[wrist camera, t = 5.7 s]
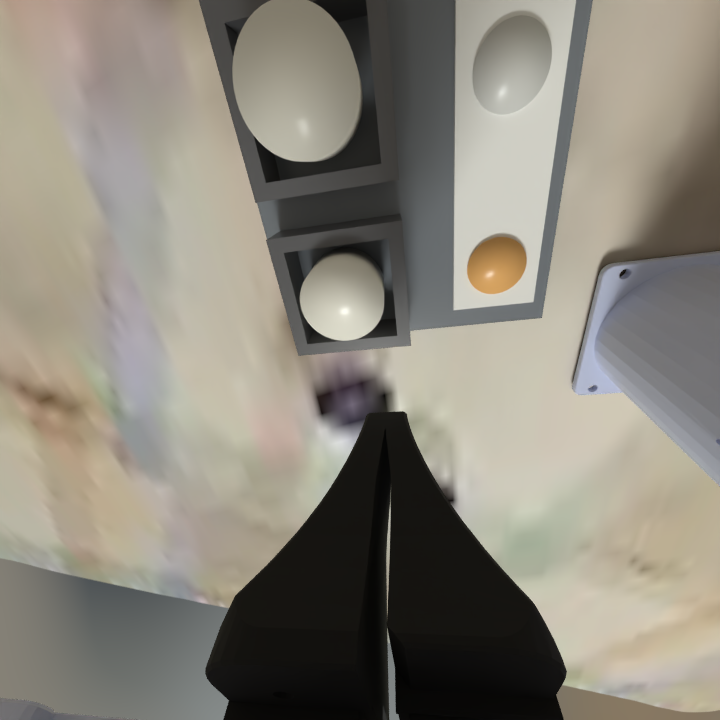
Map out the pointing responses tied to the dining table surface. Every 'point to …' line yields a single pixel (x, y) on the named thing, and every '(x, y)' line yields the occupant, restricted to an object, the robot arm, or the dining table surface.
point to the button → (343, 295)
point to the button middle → (297, 81)
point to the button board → (428, 160)
